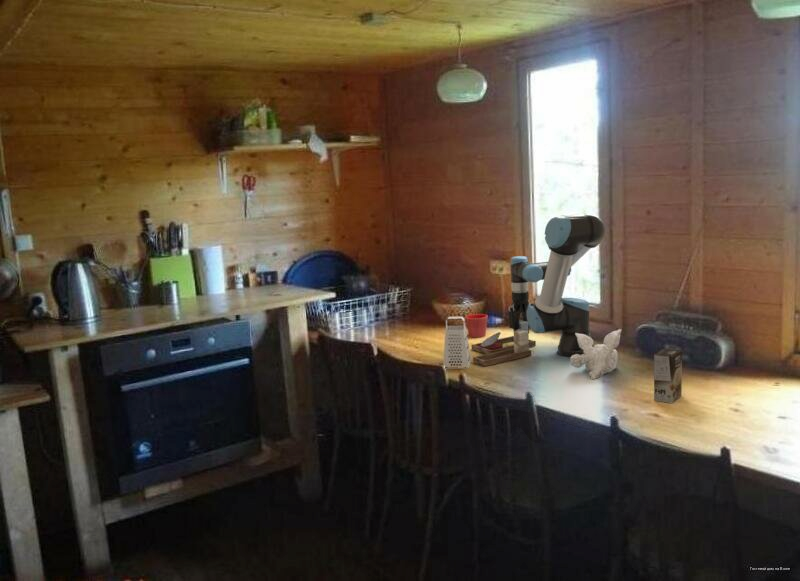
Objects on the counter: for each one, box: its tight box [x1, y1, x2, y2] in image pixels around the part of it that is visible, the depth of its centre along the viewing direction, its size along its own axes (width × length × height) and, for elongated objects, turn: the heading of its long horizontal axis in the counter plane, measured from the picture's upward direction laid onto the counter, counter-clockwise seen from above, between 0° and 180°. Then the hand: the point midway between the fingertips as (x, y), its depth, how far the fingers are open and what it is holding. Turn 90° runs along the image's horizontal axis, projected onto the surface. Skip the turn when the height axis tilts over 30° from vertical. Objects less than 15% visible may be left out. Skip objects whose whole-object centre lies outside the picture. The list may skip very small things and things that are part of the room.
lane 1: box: [470, 319, 537, 355], centre depth 320 cm, size 14×24×10 cm, turn 120°
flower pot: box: [464, 313, 489, 339], centre depth 345 cm, size 11×11×10 cm
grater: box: [442, 316, 472, 369], centre depth 298 cm, size 10×10×20 cm
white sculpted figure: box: [569, 328, 622, 380], centre depth 278 cm, size 19×20×20 cm
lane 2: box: [472, 330, 532, 367], centre depth 303 cm, size 8×24×10 cm, turn 120°
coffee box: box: [653, 348, 683, 404], centre depth 243 cm, size 9×6×16 cm
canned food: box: [480, 331, 504, 350], centre depth 318 cm, size 11×10×10 cm
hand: (521, 342), depth 326 cm, fingers closed on lane 1, 4 cm apart
